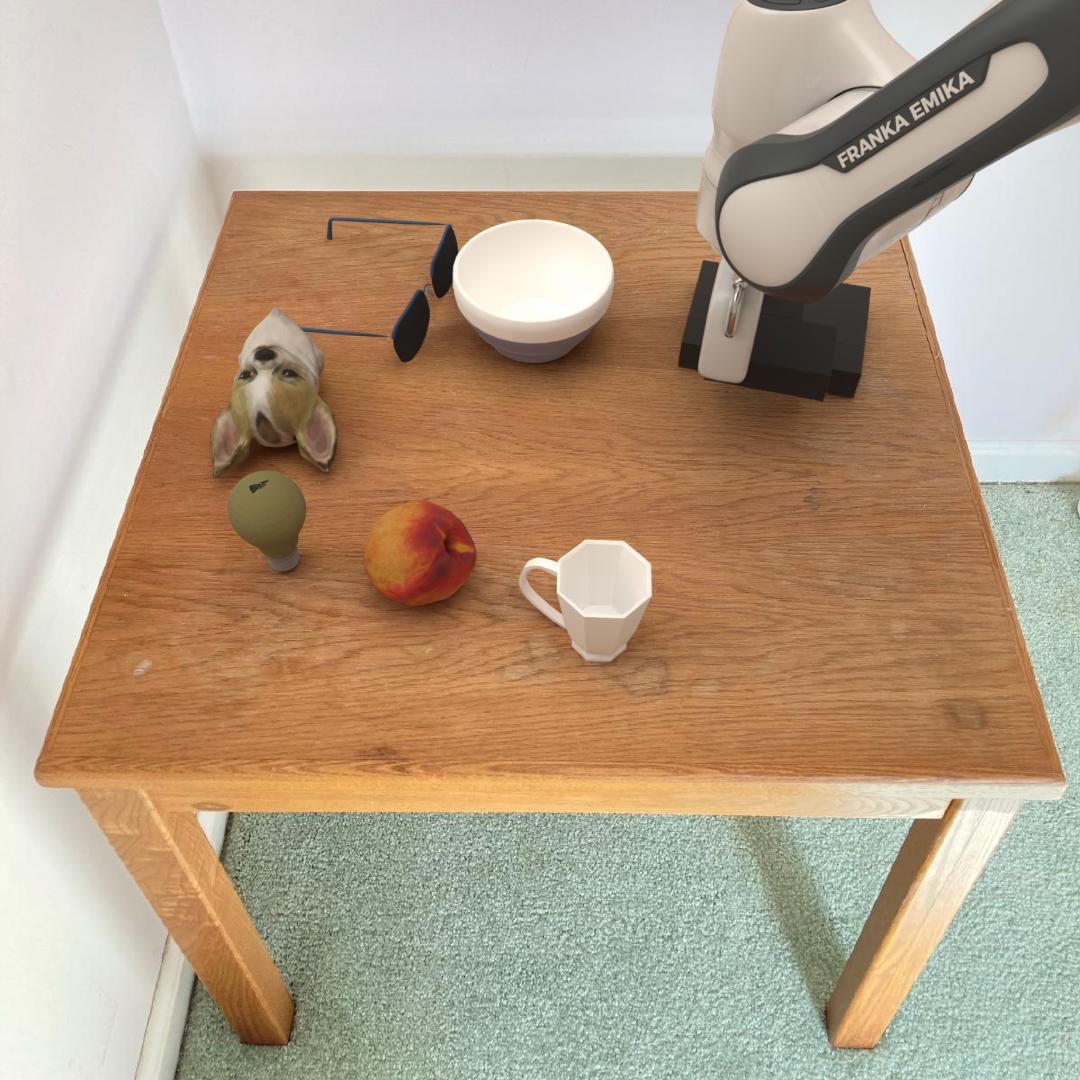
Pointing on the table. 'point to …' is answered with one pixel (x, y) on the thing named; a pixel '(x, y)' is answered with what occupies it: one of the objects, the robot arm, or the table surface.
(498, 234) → the bowl
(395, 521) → the fruit
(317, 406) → the ceramic sculpture
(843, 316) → the base pad
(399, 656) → the table surface
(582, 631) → the cup
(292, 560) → the light bulb
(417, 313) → the sunglasses
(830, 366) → the black stepped block
